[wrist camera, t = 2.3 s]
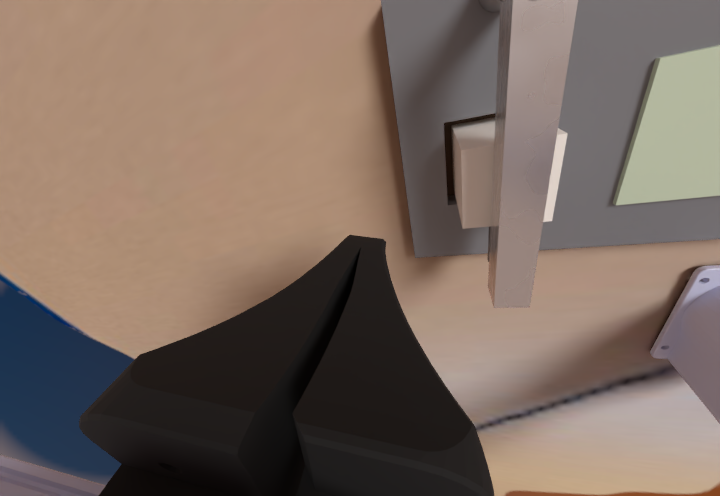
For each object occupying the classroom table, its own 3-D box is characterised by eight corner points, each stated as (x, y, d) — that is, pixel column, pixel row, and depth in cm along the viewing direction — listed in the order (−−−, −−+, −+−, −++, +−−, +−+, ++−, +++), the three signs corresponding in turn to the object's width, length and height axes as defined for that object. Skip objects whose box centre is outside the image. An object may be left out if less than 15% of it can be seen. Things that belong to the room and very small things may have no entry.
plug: (514, 226, 19) (542, 277, 15) (455, 232, 20) (463, 280, 16) (526, 111, 15) (567, 133, 11) (451, 125, 16) (461, 150, 12)
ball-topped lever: (488, -87, 8) (501, -116, 7) (588, -125, 7) (625, -164, 6) (480, 286, 15) (485, 307, 14) (528, 285, 15) (539, 307, 13)
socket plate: (759, 221, 16) (892, 286, 12) (415, 246, 22) (413, 297, 17) (1032, -212, 8) (1788, -546, 4) (383, 0, 14) (363, -28, 9)
